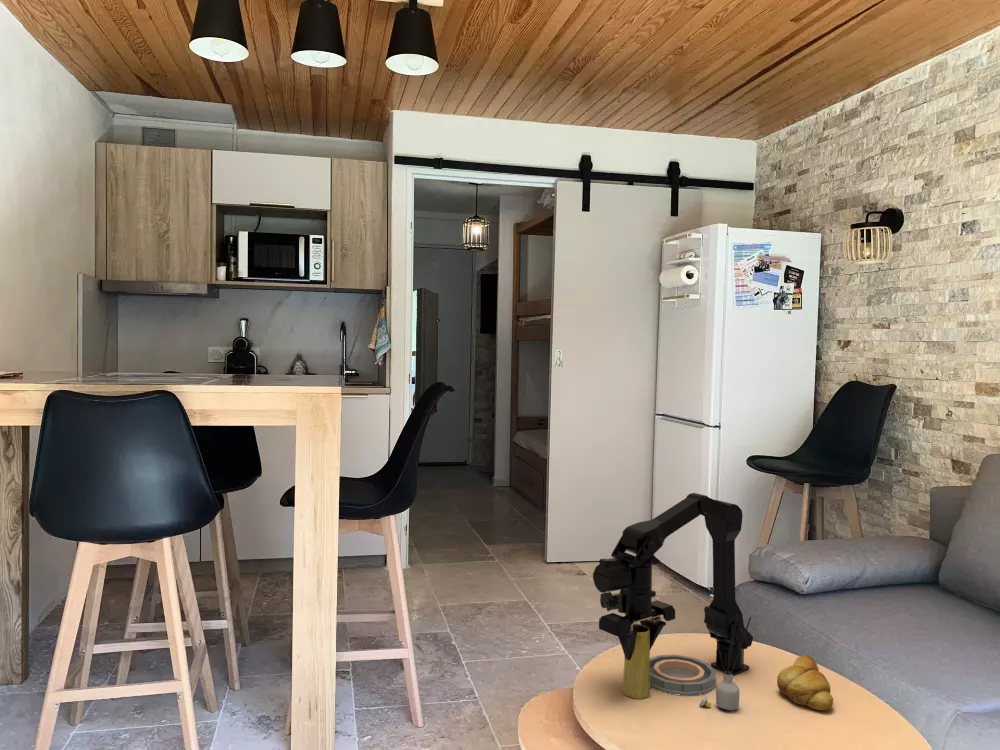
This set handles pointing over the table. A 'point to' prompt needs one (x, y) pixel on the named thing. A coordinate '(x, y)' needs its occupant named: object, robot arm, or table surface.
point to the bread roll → (805, 684)
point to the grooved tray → (681, 675)
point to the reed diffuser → (726, 680)
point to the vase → (638, 666)
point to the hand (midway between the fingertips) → (637, 656)
